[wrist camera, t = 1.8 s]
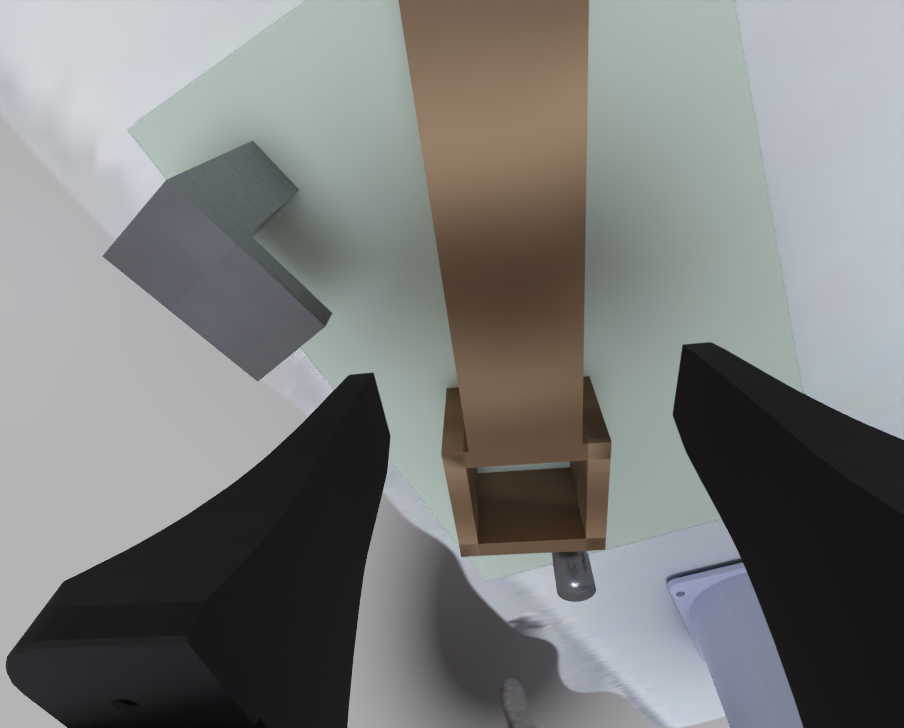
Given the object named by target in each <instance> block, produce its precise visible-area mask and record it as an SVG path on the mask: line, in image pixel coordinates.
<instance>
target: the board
mask: <svg viewBox="0 0 904 728" xmlns="http://www.w3.org/2000/svg"><path fill="white" fill-rule="evenodd" d="M127 131H128V132H129V133H130V134H131V136H132V137H133V138H134V139H135V141H136V142H137V143H138V145H139V146H140V147H141V148H142V150H143V151H144V152H145V153H146V155H147V156H148V157H149V158H150V160H151V161H152V162H153V163H154V165H155V166H156V167H157V168H158V170H159V171H160V172H161V173H162V175H163V176H164V177H165V178H166V180H167V179H169V178H171V177H173V176H176V175H178V174H180V173H182V172H184V171H187V170H189V169H191V168H193V167H195V166H198V165H200V164H202V163H204V162H206V161H209V160H211V159H213V158H215V157H217V156H220V155H222V154H224V153H226V152H229V151H231V150H233V149H235V148H237V147H240V146H242V145H244V144H246V143H248V142H251V141H254V142H255V143H256V145H257V146H258V147H259V148H260V149H261V150H262V151H263V152H264V153H265V154H266V155H267V156H268V157H269V158H270V159H271V160H272V161H273V162H274V163H275V164H276V166H277V167H278V168H279V169H280V170H281V171H282V172H283V173H284V174H285V175H286V176H287V177H288V178H289V179H290V180H291V181H292V182H293V183H294V184H295V185H296V187H297V188H298V189H299V191H298V192H297V193H296V194H295V195H294V196H293V197H292V198H291V199H290V200H289V201H288V202H287V203H286V204H285V205H284V206H283V207H282V208H281V209H280V210H279V211H278V212H277V213H276V214H275V215H274V216H273V217H272V218H271V219H270V220H269V221H268V222H267V223H266V224H265V225H264V226H263V227H262V228H261V229H260V230H259V231H258V232H257V233H256V234H255V235H254V236H253V238H254V239H255V240H256V241H257V242H258V243H259V244H260V245H261V246H262V247H264V248H265V249H266V250H267V251H268V252H269V253H270V254H271V255H272V256H273V257H274V258H275V259H276V260H277V261H278V262H279V263H280V264H281V265H282V266H284V267H285V268H286V269H287V270H288V271H289V272H290V273H291V274H292V275H293V276H294V277H295V278H296V279H297V280H298V281H299V282H300V283H301V284H302V285H304V286H305V287H306V288H307V289H308V290H309V291H310V292H311V293H312V294H313V295H314V296H315V297H316V298H317V299H318V300H319V301H320V302H321V303H322V304H324V305H325V306H326V307H327V308H328V309H329V310H330V311H331V312H332V315H331V317H330V319H329V321H328V323H327V325H326V327H324V328H323V329H322V330H321V331H319V332H318V333H317V334H316V335H315V336H313V337H312V338H311V339H310V340H308V341H307V342H306V343H305V344H303V345H302V346H301V347H300V348H301V349H302V351H303V352H304V353H305V354H306V356H307V357H308V358H309V359H310V361H311V362H312V363H313V364H314V366H315V367H316V368H317V369H318V371H319V372H320V373H321V374H322V376H323V377H324V378H325V379H326V381H327V382H328V383H329V385H330V386H331V387H332V388H333V390H335V389H336V388H337V387H338V385H339V384H340V383H341V382H342V381H343V380H344V379H345V378H346V377H347V376H349V375H351V374H362V373H374V376H375V380H376V383H377V387H378V391H379V395H380V398H381V402H382V406H383V410H384V413H385V417H386V421H387V425H388V428H389V432H390V436H391V437H390V448H389V460H390V461H391V462H392V464H393V465H394V466H395V467H396V469H397V470H398V471H399V472H400V474H401V475H402V476H403V478H404V479H405V480H406V481H407V483H408V484H409V485H410V486H411V488H412V489H413V490H414V491H415V493H416V494H417V495H418V496H419V498H420V499H421V500H422V501H423V503H424V504H425V505H426V506H427V508H428V509H429V510H430V511H431V513H432V514H433V515H434V516H435V518H436V519H437V520H438V521H439V523H440V524H441V525H442V527H443V528H444V529H445V530H446V532H447V533H448V534H449V535H450V537H451V538H452V539H453V540H454V542H455V543H456V544H457V545H458V547H459V542H458V537H457V532H456V527H455V522H454V517H453V511H452V506H451V501H450V496H449V491H448V486H447V481H446V476H445V471H444V466H443V461H442V456H441V450H442V438H443V426H444V414H445V402H446V390H447V388H457V387H459V386H458V380H457V374H456V367H455V361H454V354H453V348H452V341H451V335H450V329H449V322H448V316H447V309H446V303H445V296H444V290H443V284H442V277H441V271H440V264H439V258H438V251H437V245H436V239H435V232H434V226H433V219H432V213H431V206H430V200H429V194H428V187H427V181H426V174H425V168H424V161H423V155H422V149H421V142H420V136H419V129H418V123H417V116H416V110H415V104H414V97H413V91H412V84H411V78H410V71H409V65H408V59H407V52H406V46H405V39H404V33H403V26H402V20H401V14H400V7H399V1H398V0H306V1H305V2H303V3H302V4H300V5H299V6H298V7H296V8H295V9H294V10H292V11H291V12H289V13H288V14H287V15H285V16H284V17H282V18H281V19H280V20H278V21H277V22H276V23H274V24H273V25H271V26H270V27H269V28H267V29H266V30H264V31H263V32H262V33H260V34H259V35H258V36H256V37H255V38H253V39H252V40H251V41H249V42H248V43H246V44H245V45H244V46H242V47H241V48H240V49H238V50H237V51H235V52H234V53H233V54H231V55H230V56H228V57H227V58H226V59H224V60H223V61H222V62H220V63H219V64H217V65H216V66H215V67H213V68H212V69H210V70H209V71H208V72H206V73H205V74H204V75H202V76H201V77H199V78H198V79H197V80H195V81H194V82H192V83H191V84H190V85H188V86H187V87H185V88H184V89H183V90H181V91H180V92H179V93H177V94H176V95H174V96H173V97H172V98H170V99H169V100H167V101H166V102H165V103H163V104H162V105H161V106H159V107H158V108H156V109H155V110H154V111H152V112H151V113H149V114H148V115H147V116H145V117H144V118H143V119H141V120H140V121H138V122H137V123H136V124H134V125H133V126H131V127H130V128H129V129H127ZM706 342H712V343H714V344H716V345H718V346H720V347H722V348H724V349H725V350H727V351H729V352H731V353H733V354H734V355H736V356H738V357H740V358H741V359H743V360H745V361H746V362H748V363H750V364H752V365H753V366H755V367H757V368H758V369H760V370H762V371H764V372H765V373H767V374H769V375H771V376H772V377H774V378H776V379H778V380H779V381H781V382H783V383H785V384H787V385H788V386H790V387H792V388H794V389H796V390H798V391H799V392H801V393H803V390H802V385H801V379H800V373H799V367H798V362H797V356H796V350H795V345H794V339H793V333H792V327H791V322H790V316H789V310H788V304H787V299H786V293H785V287H784V281H783V276H782V270H781V264H780V259H779V253H778V247H777V241H776V236H775V230H774V224H773V218H772V213H771V207H770V201H769V195H768V190H767V184H766V178H765V172H764V167H763V161H762V155H761V150H760V144H759V138H758V132H757V127H756V121H755V115H754V109H753V104H752V98H751V92H750V86H749V81H748V75H747V69H746V64H745V58H744V52H743V46H742V41H741V35H740V29H739V23H738V18H737V12H736V6H735V0H589V37H588V103H587V170H586V236H585V303H584V369H583V377H587V376H590V379H591V382H592V385H593V388H594V391H595V394H596V397H597V400H598V403H599V406H600V409H601V412H602V415H603V418H604V421H605V424H606V427H607V430H608V433H609V436H610V439H611V441H612V445H611V462H610V479H609V496H608V514H607V531H606V548H605V550H607V549H611V548H615V547H619V546H622V545H626V544H630V543H634V542H637V541H641V540H645V539H649V538H652V537H656V536H660V535H664V534H667V533H671V532H675V531H679V530H682V529H686V528H690V527H694V526H697V525H701V524H705V523H709V522H712V521H716V520H720V519H721V517H720V515H719V513H718V511H717V509H716V508H715V506H714V504H713V502H712V500H711V498H710V496H709V495H708V493H707V491H706V489H705V487H704V485H703V484H702V482H701V480H700V478H699V476H698V474H697V472H696V470H695V468H694V467H693V465H692V463H691V461H690V459H689V457H688V455H687V453H686V451H685V448H684V446H683V443H682V440H681V438H680V435H679V432H678V429H677V426H676V423H675V421H674V418H673V415H672V414H673V408H674V401H675V394H676V387H677V380H678V373H679V366H680V359H681V352H682V345H684V344H695V343H706ZM566 467H570V461H569V462H554V463H539V464H524V465H509V466H494V467H479V468H477V471H478V473H490V472H505V471H520V470H536V469H551V468H566ZM459 548H460V547H459ZM600 551H604V550H594V551H587V552H588V555H589V554H592V553H596V552H600ZM467 558H468V559H469V560H470V562H471V563H472V564H473V565H474V567H475V568H476V569H477V570H478V572H479V573H480V574H481V576H482V577H483V578H484V579H485V581H486V582H487V581H491V580H495V579H498V578H502V577H506V576H510V575H514V574H517V573H521V572H525V571H529V570H532V569H536V568H540V567H544V566H547V565H551V564H553V559H552V553H531V554H510V555H489V556H468V557H467Z"/></svg>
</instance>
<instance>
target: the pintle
mask: <svg viewBox="0 0 904 728" xmlns="http://www.w3.org/2000/svg"><path fill="white" fill-rule="evenodd" d="M552 559H553V566H554V573H555V580H556V586H557V593H558V595H559V596H560V597H561V598H562V599H564V600H567V601H575V602H576V601H583V600H586V599H589V598H590V597H592V596H593V595H594V594H595V591H596V588H595V584H594V579H593V574H592V570H591V565H590V561H589V556H588V552H587V551H573V552H552Z"/></svg>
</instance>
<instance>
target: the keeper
mask: <svg viewBox="0 0 904 728" xmlns="http://www.w3.org/2000/svg"><path fill="white" fill-rule="evenodd" d="M298 191H299V189H298V188H297V187H296V185H295V184H294V183H293V182H292V181H291V180H290V179H289V178H288V177H287V176H286V175H285V174H284V173H283V172H282V171H281V170H280V169H279V168H278V167H277V166H276V164H275V163H274V162H273V161H272V160H271V159H270V158H269V157H268V156H267V155H266V154H265V153H264V152H263V151H262V150H261V149H260V148H259V147H258V146H257V145H256V143H255V142H254V141H251V142H248V143H246V144H244V145H242V146H240V147H237V148H235V149H233V150H231V151H229V152H226V153H224V154H222V155H220V156H217V157H215V158H213V159H211V160H209V161H206V162H204V163H202V164H200V165H198V166H195V167H193V168H191V169H189V170H187V171H184V172H182V173H180V174H178V175H176V176H173V177H171V178H169V179H167V180H166V181H165V182H164V184H163V185H162V186H161V187H160V188H159V189H158V191H157V192H156V193H155V194H154V195H153V197H152V198H151V199H150V200H149V201H148V203H147V204H146V205H145V206H144V207H143V209H142V210H141V211H140V212H139V213H138V214H137V216H136V217H135V218H134V219H133V220H132V222H131V223H130V224H129V225H128V226H127V228H126V229H125V230H124V231H123V232H122V234H121V235H120V236H119V237H118V238H117V240H116V241H115V242H114V243H113V244H112V246H111V247H110V248H109V249H108V251H106V253H105V254H104V255H103V257H104V258H105V259H107V260H108V261H109V262H110V263H112V264H113V265H114V266H115V267H117V268H118V269H119V270H120V271H121V272H123V273H124V274H125V275H126V276H128V277H129V278H130V279H131V280H133V281H134V282H135V283H136V284H138V285H139V286H140V287H141V288H142V289H144V290H145V291H146V292H147V293H149V294H150V295H151V296H152V297H154V298H155V299H156V300H157V301H159V302H160V303H161V304H162V305H164V306H165V307H166V308H167V309H168V310H170V311H171V312H172V313H174V314H175V315H176V316H177V317H178V318H180V319H181V320H182V321H183V322H185V323H186V324H187V325H188V326H190V327H191V328H192V329H193V330H195V331H196V332H197V333H198V334H200V335H201V336H202V337H203V338H204V339H206V340H207V341H208V342H209V343H211V344H212V345H213V346H214V347H216V348H217V349H218V350H219V351H221V352H222V353H223V354H224V355H225V356H227V357H228V358H229V359H231V360H232V361H233V362H234V363H235V364H237V365H238V366H239V367H240V368H242V369H243V370H244V371H245V372H247V373H248V374H249V375H250V376H252V377H253V378H254V379H255V380H256V381H259V380H260V379H261V378H263V377H264V376H265V375H266V374H268V373H269V372H270V371H271V370H272V369H274V368H275V367H276V366H277V365H279V364H280V363H281V362H282V361H284V360H285V359H286V358H287V357H289V356H290V355H291V354H292V353H294V352H295V351H296V350H297V349H298V348H300V347H301V346H302V345H303V344H305V343H306V342H307V341H308V340H310V339H311V338H312V337H313V336H315V335H316V334H317V333H318V332H319V331H321V330H322V329H323V328H324V327H326V325H327V323H328V321H329V319H330V317H331V315H332V312H331V311H330V310H329V309H328V308H327V307H326V306H325V305H324V304H322V303H321V302H320V301H319V300H318V299H317V298H316V297H315V296H314V295H313V294H312V293H311V292H310V291H309V290H308V289H307V288H306V287H305V286H304V285H302V284H301V283H300V282H299V281H298V280H297V279H296V278H295V277H294V276H293V275H292V274H291V273H290V272H289V271H288V270H287V269H286V268H285V267H284V266H282V265H281V264H280V263H279V262H278V261H277V260H276V259H275V258H274V257H273V256H272V255H271V254H270V253H269V252H268V251H267V250H266V249H265V248H264V247H262V246H261V245H260V244H259V243H258V242H257V241H256V240H255V239H254V238H253V236H254V235H255V234H256V233H257V232H258V231H259V230H260V229H261V228H262V227H263V226H264V225H265V224H266V223H267V222H268V221H269V220H270V219H271V218H272V217H273V216H274V215H275V214H276V213H277V212H278V211H279V210H280V209H281V208H282V207H283V206H284V205H285V204H286V203H287V202H288V201H289V200H290V199H291V198H292V197H293V196H294V195H295V194H296V193H297V192H298Z"/></svg>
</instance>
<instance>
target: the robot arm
mask: <svg viewBox="0 0 904 728" xmlns="http://www.w3.org/2000/svg"><path fill="white" fill-rule="evenodd" d="M672 415H673V418H674V421H675V423H676V426H677V429H678V432H679V435H680V438H681V440H682V443H683V446H684V448H685V451H686V453H687V455H688V457H689V459H690V461H691V463H692V465H693V467H694V468H695V470H696V472H697V474H698V476H699V478H700V480H701V482H702V484H703V485H704V487H705V489H706V491H707V493H708V495H709V496H710V498H711V500H712V502H713V504H714V506H715V508H716V509H717V511H718V513H719V515H720V517H721V519H722V521H723V522H724V524H725V526H726V528H727V530H728V532H729V534H730V535H731V538H732V540H733V542H734V544H735V546H736V548H737V550H738V552H739V554H740V556H741V559H742V561H743V562H742V563H738V564H734V565H729V566H725V567H721V568H717V569H713V570H708V571H704V572H700V573H696V574H692V575H688V576H683V577H679V578H675V579H672V580H670V581H669V582H668V584H667V586H668V589H669V591H670V594H671V596H672V598H673V600H674V602H675V604H676V606H677V608H678V610H679V612H680V614H681V616H682V619H683V621H684V623H685V625H686V627H687V629H688V631H689V633H690V635H691V637H692V639H693V642H694V644H695V646H696V648H697V650H698V652H699V654H700V656H701V658H702V660H703V661H705V662H706V663H707V666H708V669H709V671H710V674H711V677H712V679H713V682H714V685H715V688H716V690H717V693H718V696H719V698H720V701H721V704H722V706H723V709H724V712H725V715H726V717H727V720H728V723H729V725H730V728H904V440H902V439H900V438H897V437H895V436H893V435H890V434H888V433H886V432H883V431H881V430H878V429H876V428H874V427H871V426H869V425H867V424H864V423H862V422H860V421H858V420H856V419H853V418H851V417H849V416H847V415H845V414H843V413H841V412H839V411H837V410H835V409H833V408H831V407H829V406H827V405H825V404H823V403H821V402H819V401H817V400H815V399H813V398H811V397H809V396H807V395H805V394H803V393H801V392H799V391H798V390H796V389H794V388H792V387H790V386H788V385H787V384H785V383H783V382H781V381H779V380H778V379H776V378H774V377H772V376H771V375H769V374H767V373H765V372H764V371H762V370H760V369H758V368H757V367H755V366H753V365H752V364H750V363H748V362H746V361H745V360H743V359H741V358H740V357H738V356H736V355H734V354H733V353H731V352H729V351H727V350H725V349H724V348H722V347H720V346H718V345H716V344H714V343H712V342H706V343H695V344H684V345H682V352H681V359H680V366H679V373H678V380H677V387H676V394H675V401H674V408H673V414H672ZM390 437H391V436H390V432H389V428H388V425H387V421H386V417H385V413H384V410H383V406H382V402H381V398H380V395H379V391H378V387H377V383H376V380H375V376H374V373H362V374H351V375H349V376H347V377H346V378H345V379H344V380H343V381H342V382H341V383H340V384H339V385H338V387H337V388H336V389H335V390H334V391H333V392H332V393H331V394H330V395H329V396H328V397H327V398H326V399H325V400H324V401H323V402H322V403H321V405H320V406H319V407H318V408H317V409H316V410H315V411H314V412H313V413H312V414H311V415H310V416H309V417H308V418H307V419H306V420H305V421H304V422H303V423H302V424H301V425H300V426H299V427H298V428H297V429H296V430H295V431H294V432H293V433H292V434H291V435H289V437H287V438H286V439H285V440H284V441H283V442H282V443H281V444H280V445H279V446H278V447H277V448H276V449H274V450H273V451H272V452H271V453H270V454H269V455H268V456H267V457H266V458H264V459H263V460H262V461H261V462H260V463H258V464H257V465H256V466H255V467H254V468H252V469H251V470H250V471H248V472H247V473H246V474H245V475H243V476H242V477H241V478H239V479H238V480H237V481H236V482H234V483H233V484H232V485H230V486H229V487H228V488H226V489H225V490H223V491H222V492H220V493H219V494H217V495H216V496H215V497H213V498H212V499H210V500H208V501H207V502H206V503H204V504H203V505H201V506H200V507H198V508H197V509H195V510H194V511H192V512H191V513H189V514H188V515H186V516H185V517H183V518H181V519H180V520H178V521H177V522H175V523H173V524H172V525H170V526H168V527H167V528H165V529H163V530H162V531H160V532H158V533H156V534H155V535H153V536H151V537H149V538H148V539H146V540H144V541H142V542H141V543H139V544H137V545H135V546H133V547H131V548H130V549H128V550H126V551H124V552H122V553H120V554H118V555H116V556H114V557H112V558H110V559H108V560H106V561H104V562H102V563H100V564H98V565H96V566H94V567H92V568H90V569H88V570H86V571H85V572H82V573H80V574H78V575H77V576H74V577H72V578H70V579H68V580H66V581H64V582H63V583H62V584H61V586H60V587H59V588H58V590H57V591H56V593H55V594H54V595H53V596H52V598H51V599H50V600H49V602H48V603H47V604H46V606H45V607H44V608H43V610H42V611H41V612H40V614H39V615H38V616H37V618H36V619H35V620H34V622H33V623H32V624H31V626H30V627H29V629H28V630H27V631H26V632H25V634H24V635H23V636H22V638H21V639H20V640H19V642H18V643H17V644H16V646H15V647H14V648H13V650H12V651H11V652H10V653H9V655H8V656H7V661H6V670H7V674H8V675H9V677H10V679H11V681H12V683H13V684H14V685H15V686H16V687H17V688H18V689H19V690H20V691H21V692H22V693H23V694H24V695H26V696H27V697H28V698H29V699H31V700H32V701H33V702H35V703H36V704H37V705H39V706H40V707H41V708H43V709H44V710H45V711H47V712H48V713H49V714H51V715H52V716H53V717H54V718H56V719H57V720H58V721H60V722H61V723H62V724H64V725H65V726H66V727H67V728H347V723H348V709H349V698H350V687H351V677H352V666H353V656H354V647H355V638H356V630H357V620H358V612H359V605H360V597H361V589H362V582H363V575H364V569H365V564H366V559H367V554H368V550H369V545H370V541H371V537H372V533H373V529H374V524H375V521H376V517H377V513H378V508H379V504H380V500H381V496H382V492H383V487H384V483H385V479H386V474H387V468H388V459H389V448H390Z"/></svg>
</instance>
